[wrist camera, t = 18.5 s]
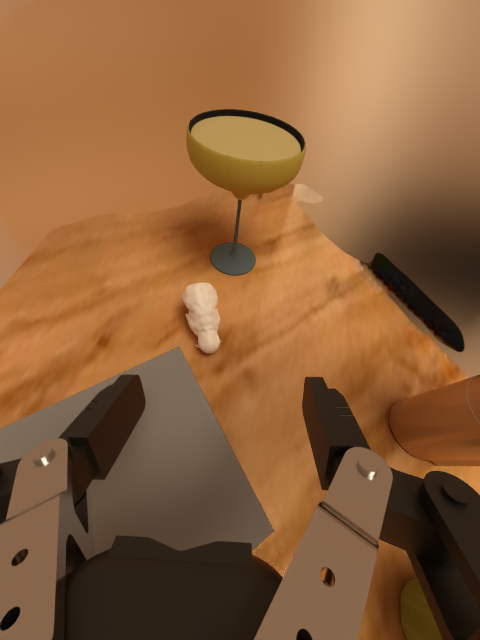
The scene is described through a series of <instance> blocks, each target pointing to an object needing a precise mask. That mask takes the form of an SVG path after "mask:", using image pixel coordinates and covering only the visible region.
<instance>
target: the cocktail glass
mask: <svg viewBox="0 0 480 640" xmlns="http://www.w3.org/2000/svg"><path fill="white" fill-rule="evenodd" d="M305 149H306V143H305V140H304V137H303V136H302V135H301V133H300V132H299V131H298V130H296V129H295V128H294V127H292V126H291V125H289V124H287V123H285V122H283V121H281V120H279V119H276V118H274V117H271V116H268V115H265V114H261V113H257V112H252V111H245V110H236V109H220V110H213V111H207V112H203V113H201V114H198V115H196V116H195V117H193V118H192V119H191V120H190V122H189V124H188V126H187V150H188V154H189V157H190V160H191V162H192V164H193V165H194V167H195V168H196V169H197V170H198V172H199V173H200V174H201V175H202V176H204V177H205V178H206V179H207V180H209V181H210V182H212V183H213V184H215V185H217V186H219V187H221V188H223V189H226V190H228V191H232V193H233V195H234V196H235V198H237V199H238V209H237V218H236V226H235V234H234V241H233V243H223V244H220V245H218V246H217V247H215V248H214V249H213V251H212V253H211V262H212V264H213V266H214V267H215V268H216V269H217V270H219V271H220V272H222V273H225V274H229V275H242V274H245V273H247V272H249V271H251V270H252V269H253V267H254V265H255V262H256V259H255V255H254V253H253V252H252V251H251V250H250V249H249V248H248V247H246V246H244V245H242V244H238V243H237V236H238V227H239V218H240V210H241V202H242V200H244V199H246V198H247V197H248V196H249V195H250V194H262V193H268V192H272V191H275V190H277V189H279V188H281V187H283V186H285V185H287V184H288V183H289V182H291V181H292V180H293V179H294V178H295V177H296V175H297V174H298V172H299V170H300V167H301V165H302V162H303V159H304V155H305Z"/></svg>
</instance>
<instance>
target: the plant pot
mask: <svg viewBox="0 0 480 640" xmlns="http://www.w3.org/2000/svg"><path fill="white" fill-rule="evenodd" d="M400 603H401V623H402V627H403V630H404V633H405V636H406V639H407V640H443V639H442V636H441V634H440V632H439V629H438V627H437V624H436V622H435V619H434V617H433V615H432V612H431V610H430V607H429V605H428V602H427V600H426V598H425V595H424V593H423V590H422V588H421V585H420V583H419V581H418V578H415V579H412V580H410V581H409V582H407V583H406V585H405V586H404V588H403V590H402V593H401V597H400Z"/></svg>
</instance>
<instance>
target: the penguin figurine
mask: <svg viewBox="0 0 480 640" xmlns="http://www.w3.org/2000/svg"><path fill="white" fill-rule="evenodd" d="M217 299H218V296H217V292H216V290H215V289H214V288H213V287H212V285H211V284H209V283H204V282H203V283H195V284H191V285H189V286H188V287H186V289H185V290H184V292H183V293H182V300H183V302H184V303H185V304H186V307H187V308H188V309H189V312H188V314H185V315H186V319H187V320H188V324H189V327H190V329H191V330H192V331H193V332H194V334H195V335H197V336H198V346H197V347H199V348H200V349H201V350H202V351H203V352H205V353H209V354H211V353H213V352H215V351H216V350H217V349H218V347H219V344H220V342H221V341H222V340H223V339H222V340H221V341H220V340H219V336H218V334H217V330H218V328H219V324H220V316H219V314H218V309H216V308H215V307H216V305H217ZM196 345H197V344H196Z"/></svg>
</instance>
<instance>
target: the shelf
mask: <svg viewBox="0 0 480 640" xmlns="http://www.w3.org/2000/svg"><path fill="white" fill-rule="evenodd" d="M123 374H128V375H139V376H140V379H141V383H142V387H143V391H144V395H145V399H146V405H145V409H144V412H143V414H142V416H141V417H140V419H139V421H138V423H137V424H136V426H135V428H134V430H133V431H132V433H131V435H130V437H129V438H128V440H127V442H126V444H125V445H124V447H123V449H122V451H121V452H120V454H119V456H118V458H117V459H116V461H115V463H114V465H113V466H112V468H111V470H110V472H109V473H108V475H107V477H106V479H105V480H92V482H91V483H90V485H89V487H88V488H89V491H90V502H91V517H92V531H93V541H94V546H95V549H96V553H97V554H99V553H101V552H103V551H105V550H108V549H111V547H112V544H113V542H114V540H115V537H116V535H119V536H137V537H149V538H152V539H154V540H156V541H158V542H160V543H163V544H165V545H167V546H169V547H171V548H174V549H176V550H179V551H183V550H187V549H190V548H194V547H198V546H201V545H205V544H208V543H212V542H216V541H227V542H245V543H252V550H253V549H254V548H256V547H257V546H258V545H259V544H260V543H261V542H262V541H263V540H264V539H265V538H267V537H268V536H269V535H270V534H271V533H272V532H273V531H274V530H273V528H272V526H271V524H270V522H269V520H268V518H267V516H266V514H265V512H264V510H263V508H262V506H261V504H260V502H259V501H258V499H257V497H256V495H255V493H254V491H253V489H252V487H251V485H250V483H249V481H248V479H247V477H246V475H245V473H244V471H243V469H242V467H241V466H240V464H239V462H238V460H237V458H236V456H235V454H234V452H233V450H232V448H231V446H230V444H229V442H228V440H227V438H226V436H225V434H224V433H223V431H222V429H221V427H220V425H219V423H218V421H217V419H216V417H215V415H214V413H213V411H212V409H211V407H210V405H209V403H208V401H207V399H206V398H205V396H204V394H203V392H202V390H201V388H200V386H199V384H198V382H197V380H196V378H195V376H194V374H193V372H192V370H191V368H190V366H189V365H188V363H187V361H186V359H185V357H184V355H183V353H182V351H181V349H180V347H177V348H175V349H173V350H170V351H168V352H166V353H164V354H162V355H160V356H157V357H155V358H153V359H151V360H149V361H146V362H144V363H142V364H140V365H138V366H136V367H133V368H131V369H129V370H127V371H125V372H123V373H120V374H118V375H116V376H114V377H112V378H109V379H107V380H105V381H103V382H101V383H99V384H96V385H94V386H92V387H90V388H88V389H86V390H83V391H81V392H79V393H77V394H75V395H72V396H70V397H68V398H66V399H64V400H62V401H59V402H57V403H55V404H53V405H51V406H49V407H46V408H44V409H42V410H40V411H38V412H36V413H33V414H31V415H29V416H27V417H25V418H22V419H20V420H18V421H16V422H14V423H12V424H9V425H7V426H5V427H3V428H1V429H0V463H4V462H8V461H12V460H16V459H20V458H23V457H24V456H25V455H26V454H27V453H28V452H29V451H30V450H31V449H33V448H34V447H36V446H37V445H39V444H41V443H43V442H45V441H48V440H51V439H56V438H58V437H59V436H60V435H61V434H62V433H63V432H64V431H65V430H66V428H67V427H68V426H69V425H70V424H71V423H72V422H73V421H74V420H75V418H76V417H77V416H78V415H79V414H80V413H81V412H82V411H83V410H85V407H86V406H87V405H88V404H89V403H91V401H92V399H93V398H94V397H95V396H96V395H97V394H98V393H99V392H100V391H101V390H103V389H104V388H106V387H107V386H109V385H112V384H113V383H114V382H115V381H116V380H117V379H118V377H119V376H120V375H123Z"/></svg>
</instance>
